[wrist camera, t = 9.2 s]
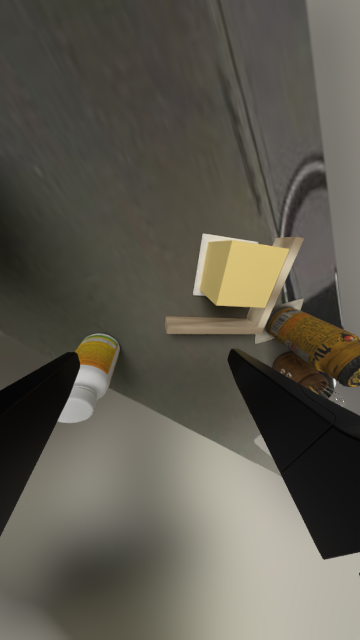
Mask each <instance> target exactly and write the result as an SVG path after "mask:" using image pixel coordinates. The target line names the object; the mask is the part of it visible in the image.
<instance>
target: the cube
mask: <svg viewBox="0 0 360 640" xmlns="http://www.w3.org/2000/svg"><path fill="white" fill-rule="evenodd" d="M288 252H289V249H287V248H280V247H274V246H267V245H261V244H255V243H248V242H242V241H235V240H226V241H213V242H208V245H207V251H206V256H205V262H204V267H203V273H202V279H201V284H200V291H201V292H202V293H203V294H204V295H206V296H207V297H208V298H209V299H210V300H211V301H212V302H213V303H214V304H215V305H217V306H238V307H259V308H265V307H266V304H267V302H268V300H269V297H270V295H271V292H272V290H273V288H274V285H275V283H276V281H277V278H278V276H279V273H280V271H281V269H282V266H283V264H284V261H285V259H286V257H287V254H288Z"/></svg>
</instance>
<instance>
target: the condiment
mask: <svg viewBox="0 0 360 640" xmlns="http://www.w3.org/2000/svg"><path fill="white" fill-rule="evenodd" d="M303 299H304V298H303ZM303 299H299V300H296V301H292V302H288V303H285V304H282V305H279V306H276V307H273V309H272V311H271V314H270V316H269V318H268V320H267V323H266V325H265V327H264V329H263V332H262V334H255V344H257V343H261V342H265V341H268V340H271V339H274V338H275V339H277V340H278V341H279V342H281V343H282V344H283V345H285V346H286V347H288V348H289V349H290V350H291V351H293V352H294V353H295V354H297V355H298V356H300V357H301V358H302V359H303V360H305V361H306V362H308V363H309V364H310V365H312V366H313V367H314V368H315V369H317V370H319V371H323V372H326V373H327V374H328V375H329V376H330V377H333V378H335V379H336V380H337V381H339V383H340V384H342V385H343V386H347V387H355V386H359V385H360V339H359V338H358V337H357V336H356V335H354V334H351V333H349V332H347V331H345V330H343V329H340V328H338V327H336V326H334V325H331V324H329V323H327V322H325V321H322V320H320V319H318V318H316V317H313V316H311V315H309V314H307V313H304V312H302V311H300V309H301V307H302V303H303ZM272 312H273V313H272ZM264 331H265V332H264ZM266 332H267V333H266Z"/></svg>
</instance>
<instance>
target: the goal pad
mask: <svg viewBox="0 0 360 640" xmlns="http://www.w3.org/2000/svg"><path fill="white" fill-rule="evenodd" d="M226 240H235V241H242V242H248V243H255V244H258V242H253V241H247V240H240V239H234V238H228V237H222V236H215V235H209V234H203V235H202V241H201V247H200V254H199V260H198V266H197V272H196V278H195V285H194V291H193V295H199V296H206V295H204V294H203V293H202V292H201V291H200V284H201V279H202V273H203V267H204V262H205V256H206V251H207V245H208V242H213V241H226Z"/></svg>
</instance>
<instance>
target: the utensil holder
mask: <svg viewBox="0 0 360 640" xmlns="http://www.w3.org/2000/svg"><path fill="white" fill-rule="evenodd" d="M273 369H274V370H276V371H278V372H280V373H281V374H283V375H285V376H287V377H289V378H290V379H292V380H294V381H296V382H297V383H299V384H301V385H303V386H304V387H306V388H308V389H310V390H312V391H313V392H315V393H317V394H321V392H322V391H324V390H326V387H327V386H328V380H327V379H326V378H325V377H324V376H322V375H320V374H319V372H318V371H317V369H315V368H314V367H313V366H312V365H310V364H309V363H308V362H306V361H305V360H303V359H302V358H301V357H300V356H298V355H297V354H295V353H291V352H290V353H285V354H283V355H281V356H280V357H278V358H277V359H276V361H275V362H274V364H273ZM328 388H329V387H328ZM330 389H331V388H330ZM331 390H332V389H331ZM333 391H334V390H333ZM328 393H329V391H328ZM335 393H336V392H335ZM329 394H330V393H329ZM331 394H332V393H331ZM325 396H326V395H325ZM325 396H324V397H325ZM326 397H327V396H326ZM326 397H325V398H326ZM343 399H344V398H343ZM328 400H329V399H328ZM343 406H345V404H344V405H342V407H343Z"/></svg>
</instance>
